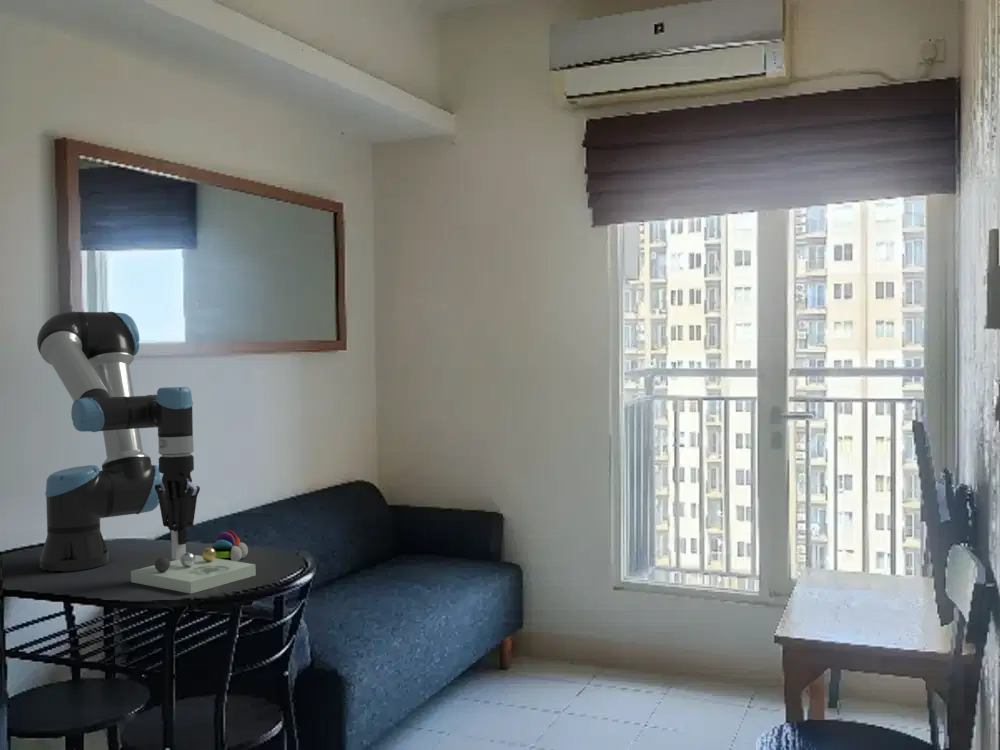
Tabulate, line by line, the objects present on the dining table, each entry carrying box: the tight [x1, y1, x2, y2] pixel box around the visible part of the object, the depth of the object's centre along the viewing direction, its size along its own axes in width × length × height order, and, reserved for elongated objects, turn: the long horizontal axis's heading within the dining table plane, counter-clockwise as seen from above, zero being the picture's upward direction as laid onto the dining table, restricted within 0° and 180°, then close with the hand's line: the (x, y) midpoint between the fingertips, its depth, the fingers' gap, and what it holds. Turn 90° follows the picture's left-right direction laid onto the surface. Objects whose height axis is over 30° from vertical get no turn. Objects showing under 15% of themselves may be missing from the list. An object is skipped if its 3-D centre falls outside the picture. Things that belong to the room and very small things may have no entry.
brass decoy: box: [201, 546, 216, 562], centre depth 212 cm, size 3×3×3 cm
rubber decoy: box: [154, 556, 170, 572], centre depth 202 cm, size 3×3×3 cm
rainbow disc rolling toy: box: [209, 530, 249, 562], centre depth 224 cm, size 8×10×7 cm
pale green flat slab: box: [130, 554, 257, 594], centre depth 206 cm, size 20×18×2 cm
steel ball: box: [180, 552, 195, 567], centre depth 207 cm, size 3×3×3 cm
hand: (179, 558), depth 208 cm, fingers closed
